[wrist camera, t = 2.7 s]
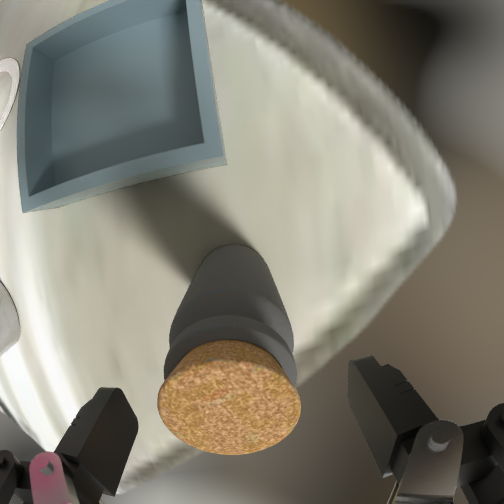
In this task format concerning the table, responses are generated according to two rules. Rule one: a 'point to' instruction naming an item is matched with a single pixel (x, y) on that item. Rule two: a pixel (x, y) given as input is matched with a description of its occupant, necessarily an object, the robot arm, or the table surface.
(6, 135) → the table surface
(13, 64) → the candle holder
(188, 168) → the tote
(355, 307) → the table surface
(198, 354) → the bottle
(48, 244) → the table surface
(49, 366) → the table surface
